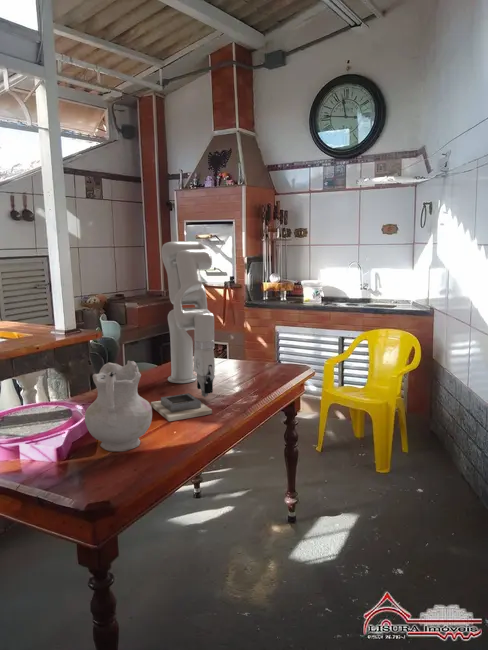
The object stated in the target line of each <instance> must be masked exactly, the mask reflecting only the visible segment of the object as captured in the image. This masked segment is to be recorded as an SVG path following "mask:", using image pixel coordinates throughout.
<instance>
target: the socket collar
mask: <svg viewBox="0 0 488 650" xmlns="http://www.w3.org/2000/svg"><path fill="white" fill-rule="evenodd" d="M160 401H161V405H163V406H164V407H165V408H166V409H168V410H169V411H170V412H172V413H173V412H179V411H185V410H191V409H196V408H201V403H202V401H201V400H200V399H198V398H197V397H195V396H194V395H192V394H191V393H188V392H186V393H183V394H182V393H181V394H175V395H168V396H161V397H160ZM185 401H187V402H185ZM179 402H183V403H179ZM174 403H177V404H174Z"/></svg>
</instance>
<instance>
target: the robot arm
mask: <svg viewBox="0 0 488 650" xmlns="http://www.w3.org/2000/svg"><path fill="white" fill-rule="evenodd" d="M161 259H162V262H163V265H164V268H165V271H166V274H167V275H166V276H167V285H168V296H169V300H170V303H171V304H172V305H173V309H171V310H170V311H169V312H168V314H167V323H168V329H169V337H170V339H169V340H170V362H171V363H170V364H171V366H170V367H171V368H170V369H171V375H170V376H168V377H167V381H168V382H170V383H174V384H189V383H193V382H197V383H196V385H197V386H196V388H197V390H201V387H200V384H199V382H198V380H197V374H199V375H201V376H204V377H205V383H204V393H205V394H208V395H209V394H212V393H213V391H214V390H213V384H214V380H215V376H216V375H215V370H216V369H215V368H216V366H215V365H216V364H215V352H214V349H215V315H214V313H213V312H211V311H210V310H209V309H208V301H207V291H206V288H205V286H204V284H203V280H202V277H201V276H202V275H201V272H200V271H203V270H205V271H206V270H209V269H211V268H212V265H213V258H212V255H211V252H210V250H209V249H208V248H207V247H206V246H205V244H203V243H202V242H200V241H198V240H197V241H196V240H194V241H193V240H192V241H187V240H184V241H183V240H182V241H181V240H180V241H179V240H178V241H177V240H175V241H168V242H164V244H162V246H161ZM187 305H188V306H189V305H193V306H194V307H183V306H187ZM191 330H194V331H193V332H194V334H193V335H194V336H193V337H194V338H192V336H190V334H189V333H188V332H187V331H191ZM193 339H194V342H193ZM193 345H194V346H193ZM194 372H195V373H196V375H195V374H194ZM208 373H209V374H210V375H207V374H208ZM209 376H210V377H209ZM207 377H209V378H208V379H207Z"/></svg>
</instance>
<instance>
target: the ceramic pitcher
mask: <svg viewBox="0 0 488 650" xmlns="http://www.w3.org/2000/svg"><path fill="white" fill-rule="evenodd" d="M126 362H127V363H126V364H125V365H124V366H122V365H120V364H118V363H113V362H107V363H105V364H104V365H102V366H101V368H100V370H99V372H98V373H93V374H92V380H93V383H94V385H95V386H96V390H97V397H96V399H95V400H94V401H93V402H92V403H91V404H90V405H89V406H88V407H87V409H86V410H85V413H84V422H85V425H86V429H87V430H88V432H89V434H90V435H91V436H92V437H93V438H94V439H95V440H98V441H100V442H101V443H100V444H99V447H100V448H102V449H103V450H105V451H108V452H110V453H111V452H127V451H129V450H132V449H136V448H138V447H140V445H141V440H140V437H142V436H144V435H145V434H146V432H147V431H148V430H149V428H150V426H151V424H152V420H153V407H151V403H150V402H149V401H148V400H147V399H145V398H143V397H142V396H140V394H139V393H138V392H139V391H138V385H139V382H140V379H141V378H142V377H141V376H142V374H141V372H140V371H139V367H138V366H139V365H138V363H136V362H135V361H134V360H130V359H129V360H127V361H126Z"/></svg>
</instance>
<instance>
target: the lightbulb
mask: <svg viewBox="0 0 488 650" xmlns="http://www.w3.org/2000/svg"><path fill="white" fill-rule="evenodd" d="M207 375H210V374H209V373H208V374H207ZM196 376H197V380H198V382H199V384H200V387H201V389H200V391H201V396H202V397H204V398H205V397H206V398H207V396H209V393H208V394H205V393H204V383H205V377H204V376H201V375H199V374H197V373H196ZM209 377H210V376H209ZM209 377H207V379H208V378H209ZM197 380H196V381H197Z"/></svg>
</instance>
